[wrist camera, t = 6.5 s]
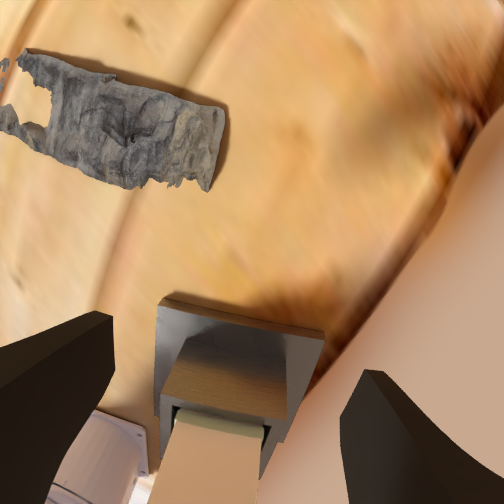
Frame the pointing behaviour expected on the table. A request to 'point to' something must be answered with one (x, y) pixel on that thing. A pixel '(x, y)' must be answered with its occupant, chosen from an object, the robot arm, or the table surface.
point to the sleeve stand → (231, 369)
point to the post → (209, 461)
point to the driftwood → (118, 127)
